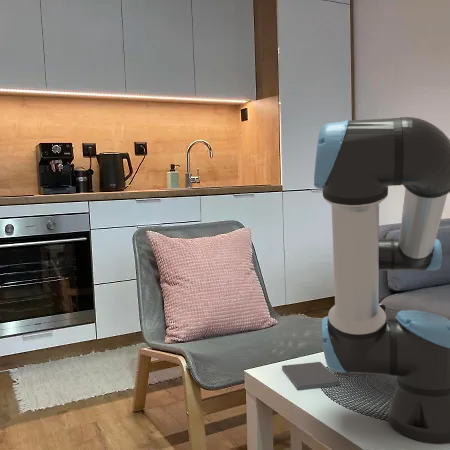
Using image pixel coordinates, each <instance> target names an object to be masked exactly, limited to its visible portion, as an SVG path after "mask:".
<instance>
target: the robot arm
mask: <svg viewBox="0 0 450 450" xmlns="http://www.w3.org/2000/svg"><path fill="white" fill-rule="evenodd" d="M315 152H316V154H315V162H314V173H313V174H314V175H313V186H314V188H316V189H318V190H322V197H323V199H324V201H326V202H327V203H328V204H330V205H331V223H332V224H331V225H332V226H331V228H332V250H333V251H332V253H333V254H332V255H333V280H334V281H333V283H334V305H333V306H332V307H331V308H330V309H329V311H328V315H327V316H324V317H323V318H322V320H321V338H322V350H323V356H324V359H325V363H326V365H327V367H328V368H329V370H331V371H333V372H335V373H336V372H337V373H344V374H348V375H352V374H356V375H357V374H359V375H361V374H362V375H363V374H364V375H377V376H394V377H396V387H395V390H394V393H393V395H392V398H391V402H390V405H389V407H388V410H387V411H388V423H389V426H390V427H391V428H392V429H393V430H394V431H396V432H397V433H399V434H401V435H402V436H405V437H407V438H410V439H413V440H416V441H420V442H427V443H434V444H439V443H441V444H442V443H443V444H444V443H445V444H446V443H450V319H449V318H447V317H445V316H442V315H439V314H436V313H432V312H430V311H429V312H427V311H424V310H423V311H422V310H416V309H407V310H406V309H405V310H403V309H402V310H400V311H397V312H396V315H395V318H387V314H386V308H387V307H386V304H382V302H379V301H380V300H379V291H380V289H379V283H380V282H379V281H380V280H379V276H380V275H379V274H380V273H379V272H380V271H415V272H417V271H419V272H427V271H437V270H439V269H440V268H441V266H442V260H443V251H442V250H443V249H442V248H443V247H442V243H441V241H440V239H438V238H437V236H438V232H439V230H440V229H439V227H440V225H441V224H440V223H441V220H442V216H443V212H444V208H445V206H446V205H445V204H446V201H447V197H448V194H450V138H449V137H448V135H446V134H445V132H443V131H442V129H441V128H439V127H438V126H436V125H434V124H433V123H431V122H429V121H427V120H424V119H422V118H418V117H413V116H412V117H411V116H401V117H394V118H375V119H374V118H373V119H354V120H351V119H350V120H349V119H344V121H336V122H328V123H325V124H324V125H322V127H320V129H319V132H318V137H317V144H316V151H315ZM391 186H403V187H404V188H405V189H404V197H403V205H402V213H401V214H402V215H401V224H400V229H399V236H398V237H399V238H380V203H382V202H383V201H384V200H386V199H387V197H388V196H389V187H391Z"/></svg>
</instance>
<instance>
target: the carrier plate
mask: <svg viewBox="0 0 450 450" xmlns="http://www.w3.org/2000/svg"><path fill="white" fill-rule="evenodd" d="M281 369H282V371H283V372H284V373H285V375H286V377H287V378H288V379H289V380H290V381H291V383H292V384H293V386H294V387H295V389H296V390H298V391H302V390H312V389H320V388H328V387H327V386H331V387H337V386H336V385H340V386H341V381H340V380H339V379H338V378H337V377H336V376H335V375H334V374H333V373H332V372H331V371H330V369H328V368H327V367H326V366H325V365H324V364H323V363H322V362H321V361H317V362H316V361H315V362H308V363H307V362H304V363H297V364H285V365H282V366H281Z"/></svg>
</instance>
